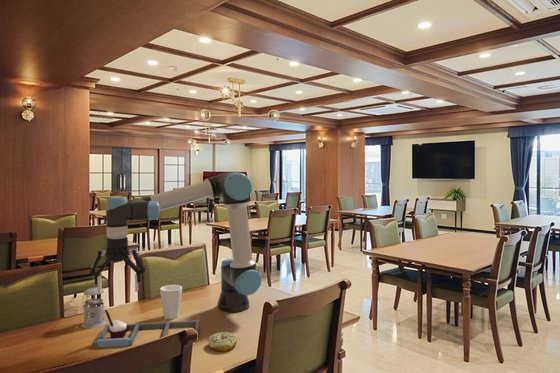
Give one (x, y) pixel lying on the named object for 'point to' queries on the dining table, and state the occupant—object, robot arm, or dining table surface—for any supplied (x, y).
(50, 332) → the dining table surface
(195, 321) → the organizer
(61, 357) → the dining table surface
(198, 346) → the dining table surface
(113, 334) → the cocoa
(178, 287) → the foam cup
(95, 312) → the french press
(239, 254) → the robot arm
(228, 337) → the decorated donut
